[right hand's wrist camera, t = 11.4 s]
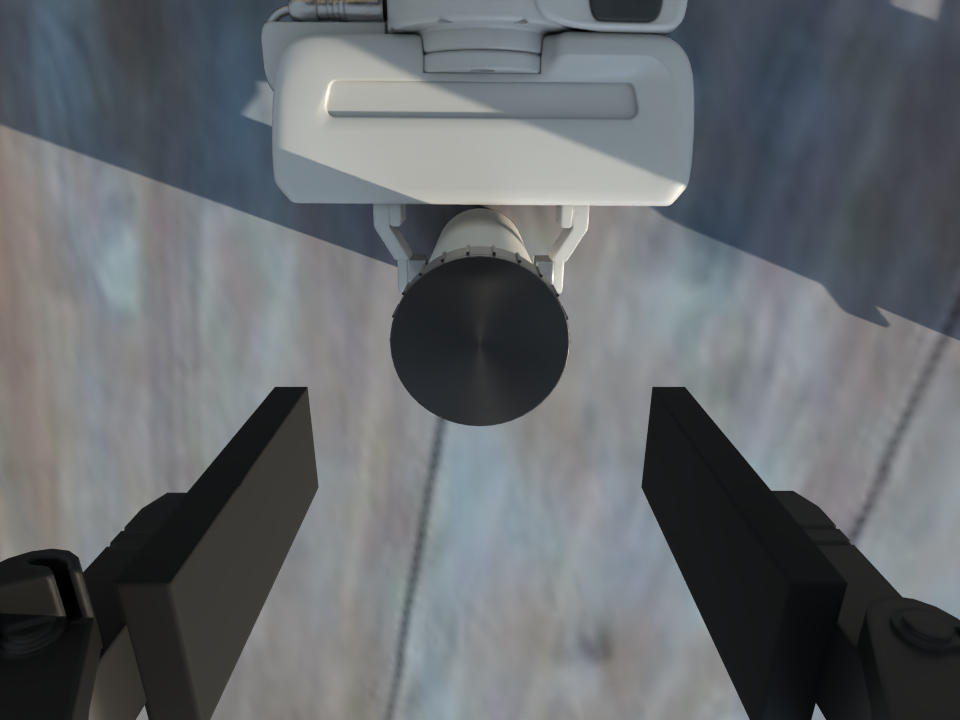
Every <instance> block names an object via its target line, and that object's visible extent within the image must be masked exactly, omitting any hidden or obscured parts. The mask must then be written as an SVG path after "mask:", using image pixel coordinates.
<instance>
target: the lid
mask: <svg viewBox="0 0 960 720" xmlns="http://www.w3.org/2000/svg"><path fill="white" fill-rule="evenodd" d="M402 295H403V297H402V299H401V301H400V303H399V304H398V305H397V307H396V309H395V311H394V313H393V316H392V317H393V318H394V319H393V322H392V328H391V334H390V347H391V355H392V359H393V363H394V367H395V369H396V372H397V374H398V376H399V378H400V380H401V382H402V384H403V385H404V387H405V388H406V390H407V391H408V392H409V393H410V395H411V396H412V397H413V398H414V399H415V400H416V401H417V402H418V403H419V404H421V405H422V406H423V407H424V408H426V409H427V410H428V411H430V412H432V413H433V414H435V415H437V416H439V417H441V418H443V419H446V420H448V421H452V422H455V423H458V424H464V425H471V426H489V425H496V424H502V423H505V422H508V421H512V420H514V419H516V418H519V417H521V416H523V415H525V414H527V413H528V412H530V411H532V410H533V409H534V408H536V407H537V406H538V405H539V404H541V403H542V402H543V401H544V400H545V399H546V398H547V397H548V396H549V395H550V393H551V392H552V391H553V389H554V388H555V387H556V385H557V384H558V382H559V380H560V378H561V376H562V374H563V372H564V369H565V367H566V363H567V359H568V355H569V347H570V335H569V328H568V322H567V320H568V316H567V314H566V312H565V310H564V308H563V306H561V303H560V301H559V299H558V296H559V294H558V292H557V290H556V288H555V287H554V285H553V284H552V285H551V284H550V283H549V281H548V280H547V278H546V277H545V276H544V275H543V274H542V272H541V270H540V268H539V266H536V267H535V266H534V265H533V264H532V263H530V262H529V261H527V260H526V259H524V258H523V257H521V256H520V255H519V253H518V252H516V254H515V253H513V252H510V251H507V250H504V249H500V248H495V245H492V247H489V246H471V247H470V245H467V247H464V248H459V249H456V250H453V251H450V252H447V253H446V251H445V252H443V253H442V255H441V256H439V257H437V258H436V259H434V260H433V261H431V262H430V263H428V264H427V265H426V266H425V264H424V265H423V266H422V267H421V270H420V271H419V272H418V274H417V275H416V276H415V277H414V278H413V280H412V281H411V283H407V285H406V287H405V289H404V291H403V293H402Z"/></svg>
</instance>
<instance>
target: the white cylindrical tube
mask: <svg viewBox="0 0 960 720" xmlns="http://www.w3.org/2000/svg"><path fill="white" fill-rule="evenodd" d="M467 245H470V247H471V246H489V247H492V245H495V248H500V249H504V250H507V251H510V252H513V253H515V254H516V252H518V253H519V255H520V256H521V257H523V258H524V259H526V260H527V261H529V262H530V263H531V260H530V258H529V256H528V253H527V251H526V248H525V246H524V244H523V241H522V239H521V237H520V234H519V232H518V230H517V229H516V227H515V226H514V224H513V223H512V222H511V221H510V220H509V219H508V218H507V217H505V216H504V215H502V214H500V213H498V212H496V211H493V210H490V209H484V208H476V209H470V210H467V211H464V212H462V213H460V214H458V215H456V216H455V217H453V218H452V219H451V220H450V221H449V222H448V223H447V224H446V226H445V227H444V229H443V230H442V232H441V234H440V237H439V239H438V241H437V244H436V246H435V248H434V251H433V253H432V256H431V258H430V260H429V263H430V262H431V261H433V260H434V259H436V258H437V257H439V256H441V255H442V253H443V252H445V251H446V253H447V252H450V251H453V250H456V249H459V248H464V247H467Z"/></svg>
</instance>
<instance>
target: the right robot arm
mask: <svg viewBox="0 0 960 720" xmlns="http://www.w3.org/2000/svg"><path fill="white" fill-rule="evenodd" d="M317 489H318V479H317V470H316V461H315V451H314V442H313V433H312V424H311V415H310V406H309V397H308V388H307V387H275V388H274V389H273V390H272V391H271V393H270V394H269V395H268V396H267V397H266V399H265V400H264V401H263V402H262V403H261V405H260V406H259V407H258V408H257V409H256V411H255V412H254V413H253V414H252V415H251V417H250V418H249V419H248V420H247V421H246V423H245V424H244V425H243V426H242V428H241V429H240V430H239V431H238V432H237V434H236V435H235V436H234V437H233V438H232V440H231V441H230V442H229V443H228V444H227V446H226V447H225V448H224V449H223V450H222V452H221V453H220V454H219V455H218V456H217V458H216V459H215V460H214V461H213V462H212V464H211V465H210V466H209V467H208V468H207V470H206V471H205V472H204V473H203V474H202V476H201V477H200V478H199V479H198V480H197V482H196V483H195V484H194V485H193V486H192V488H191V489H190V490H189V491H188V492H187V493H166V494H165V495H163V496H161V497H160V498H158V499H157V500H155V501H153V502H152V503H150V504H149V505H147V506H145V507H144V508H142V509H141V510H140V511H139V512H138V513H137V515H136V516H135V517H134V518H133V519H132V520H131V521H130V522H129V523H128V524H127V525H126V526H125V530H124V531H121V532H120V533H119V534H118V535H117V536H116V537H115V538H114V540H113V541H112V542H111V543H110V547H106V548H105V549H104V550H103V552H102V553H101V554H100V555H99V556H98V557H97V558H96V559H95V560H94V561H93V562H92V563H91V565H90V566H89V567H88V568H87V569H86V570H85V571H84V572H83V571H82V568H81V564H80V561H79V558H78V557H77V556H76V555H74V554H73V553H71V552H70V551H66V550H58V549H47V550H39V551H31V552H28V553H25V554H21V555H18V556H15V557H11V558H8V559H6V560H4V561H2V562H0V720H136V718H137V717H138V715H139V713H140V712H141V710H142V708H143V707H144V705H145V707H146V711H147V715H148V719H149V720H210V719H211V717H212V715H213V712H214V710H215V708H216V706H217V704H218V702H219V700H220V697H221V695H222V693H223V691H224V689H225V687H226V685H227V682H228V680H229V678H230V676H231V674H232V672H233V669H234V667H235V665H236V663H237V661H238V659H239V657H240V654H241V652H242V650H243V648H244V646H245V644H246V642H247V639H248V637H249V635H250V633H251V631H252V629H253V627H254V624H255V622H256V620H257V618H258V616H259V614H260V612H261V609H262V607H263V605H264V603H265V601H266V599H267V597H268V594H269V592H270V590H271V588H272V586H273V584H274V582H275V579H276V577H277V575H278V573H279V571H280V569H281V567H282V564H283V562H284V560H285V558H286V556H287V554H288V551H289V549H290V547H291V545H292V543H293V541H294V539H295V536H296V534H297V532H298V530H299V528H300V526H301V524H302V521H303V519H304V517H305V515H306V513H307V511H308V509H309V506H310V504H311V502H312V500H313V498H314V496H315V494H316V491H317ZM642 489H643V491H644V494H645V496H646V498H647V500H648V502H649V504H650V506H651V509H652V511H653V513H654V515H655V517H656V519H657V521H658V524H659V526H660V528H661V530H662V532H663V534H664V536H665V539H666V541H667V543H668V545H669V547H670V549H671V551H672V554H673V556H674V558H675V560H676V562H677V564H678V567H679V569H680V571H681V573H682V575H683V577H684V579H685V582H686V584H687V586H688V588H689V590H690V592H691V594H692V597H693V599H694V601H695V603H696V605H697V607H698V609H699V612H700V614H701V616H702V618H703V620H704V622H705V624H706V627H707V629H708V631H709V633H710V635H711V637H712V639H713V642H714V644H715V646H716V648H717V650H718V652H719V654H720V657H721V659H722V661H723V663H724V665H725V667H726V669H727V672H728V674H729V676H730V678H731V680H732V682H733V685H734V687H735V689H736V691H737V693H738V695H739V697H740V700H741V702H742V704H743V706H744V708H745V710H746V712H747V715H748V717H749V719H750V720H811V719H812V715H813V711H814V707H815V704H816V703H817V705H818V707H819V708H820V710H821V712H822V714H823V715H824V717H825V719H826V720H960V620H959V619H957V618H956V617H954V616H952V615H950V614H948V613H946V612H945V611H943V610H941V609H939V608H937V607H935V606H932V605H929V604H926V603H924V602H921V601H918V600H915V599H910V598H903V597H902V596H901V595H900V594H899V593H898V592H897V591H896V590H895V589H894V588H893V587H892V586H891V584H890V583H889V582H888V581H887V580H886V579H885V578H884V577H883V576H882V575H881V574H880V573H879V571H878V570H877V569H876V568H875V567H874V566H873V565H872V564H871V563H870V562H869V561H868V560H867V559H866V557H865V556H864V555H863V554H862V553H861V552H860V551H859V550H858V549H857V548H856V547H855V546H854V545H851V544H850V540H849V539H848V538H847V537H846V536H845V535H844V534H843V533H842V531H841V530H840V529H836V525H835V524H834V523H833V522H832V521H831V520H830V519H829V517H828V516H827V515H826V514H825V513H824V512H823V511H822V510H821V509H820V508H819V507H818V506H817V505H815V504H813V503H812V502H810V501H808V500H807V499H805V498H804V497H802V496H800V495H799V494H797V493H796V492H794V491H771V490H770V489H769V488H768V486H767V485H766V484H765V483H764V482H763V480H762V479H761V478H760V477H759V476H758V474H757V473H756V472H755V471H754V470H753V468H752V467H751V466H750V465H749V464H748V462H747V461H746V460H745V459H744V458H743V456H742V455H741V454H740V453H739V452H738V450H737V449H736V448H735V447H734V446H733V444H732V443H731V442H730V441H729V440H728V438H727V437H726V436H725V435H724V434H723V432H722V431H721V430H720V429H719V428H718V426H717V425H716V424H715V423H714V421H713V420H712V419H711V418H710V417H709V415H708V414H707V413H706V412H705V411H704V409H703V408H702V407H701V406H700V405H699V403H698V402H697V401H696V400H695V399H694V397H693V396H692V395H691V394H690V393H689V391H688V390H687V389H686V388H685V387H653V388H652V397H651V406H650V415H649V424H648V433H647V442H646V451H645V461H644V470H643V479H642Z"/></svg>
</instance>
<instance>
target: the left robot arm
mask: <svg viewBox="0 0 960 720" xmlns="http://www.w3.org/2000/svg"><path fill="white" fill-rule="evenodd" d="M687 1H688V0H289V1H288V5H284V6H282V7H279V8H278V9H276V10H275V11H274V12H273V13H272V14H271V15H270V16H269V17H268V18H267V20H266V22H265V24H264V26H263V29H262V36H261V42H262V52H263V61H264V71H265V75H266V78H267V81H268V83H269V85H270V87H271V89H272V90H273V92H274V93H273V110H272V156H273V172H274V179H275V182H276V184H277V186H278V187H279V188H280V189H281V190H282V192H283V193H284V194H285V195H286V196H287V197H288V198H289V200H290V201H292V202H294V203H343V204H373V217H374V228H375V229H376V231H377V232H378V234H379V236H380V237H381V239H382V240H383V242H384V243H385V245H386V247H387V248H388V250H389V251H390V253H391V255H392V256H393V258H394V259H395V260H397V264H398V287H399V292H403V291H404V289H405V287H406V285H407V283H411V281H412V280H413V278H414V277H415V276H416V275H417V274H418V272H419V271H420V270H421V267H422V266H423V265H424V264H425V266H426V265H427V264H428V255H423V254H413V252H412V250H411V249H410V247H409V245H408V243H407V242H406V240H405V238H404V237H403V235H402V233H401V231H400V230H399V228H398V227H399V226H400V225H401V224H402V223H403V222H404V221H405V220H406V204H467V205H557V208H556V221H557V222H558V223H559V224H560V225H561V226H562V227H563V228H564V229H563V231H562V232H561V234H560V235H559V237H558V239H557V240H556V242H555V244H554V245H553V247H552V249H551V250H550V252H549V254H548V255H534V256H533V265H534V266H535V267H536V266H539V268H540V270H541V272H542V274H543V275H544V276H545V277H546V278H547V280H548V281H549V283H550V284H551V285H552V284H553V285H554V287H555V288H556V290H557V292H558V293H561V292H562V288H563V271H564V261H567V260H568V258H569V257H570V255H571V254H572V252H573V251H574V249H575V248H576V246H577V245H578V243H579V242H580V240H581V238H582V237H583V235H584V234H585V232H586V231H587V229H588V220H589V207H590V205H591V206H669V205H671V204H672V203H673V202H674V201H675V200H676V199H677V198H678V197H679V196H680V194H681V193H682V192H683V191H684V190H685V188H686V187H687V185H688V183H689V179H690V172H691V164H692V154H693V139H694V81H693V74H692V69H691V65H690V62H689V59H688V57H687V55H686V53H685V52H684V50H683V49H682V48H681V46H680V45H679V44H678V43H676V42H675V41H674V40H672V39H670V38H668V37H666V36H667V35H668V34H670V33H671V32H672V31H673V30H675V29H676V28H677V27H678V25H679V24H680V23H681V22H682V20H683V18H684V16H685V12H686V8H687ZM287 15H290V17H291V19H292V20H293V21H297V22H278V21H279V20H280V19H282V18H283V17H285V16H287ZM386 20H387V23H388V32H387V24H386ZM321 21H337V22H321ZM388 33H389V34H388Z"/></svg>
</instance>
